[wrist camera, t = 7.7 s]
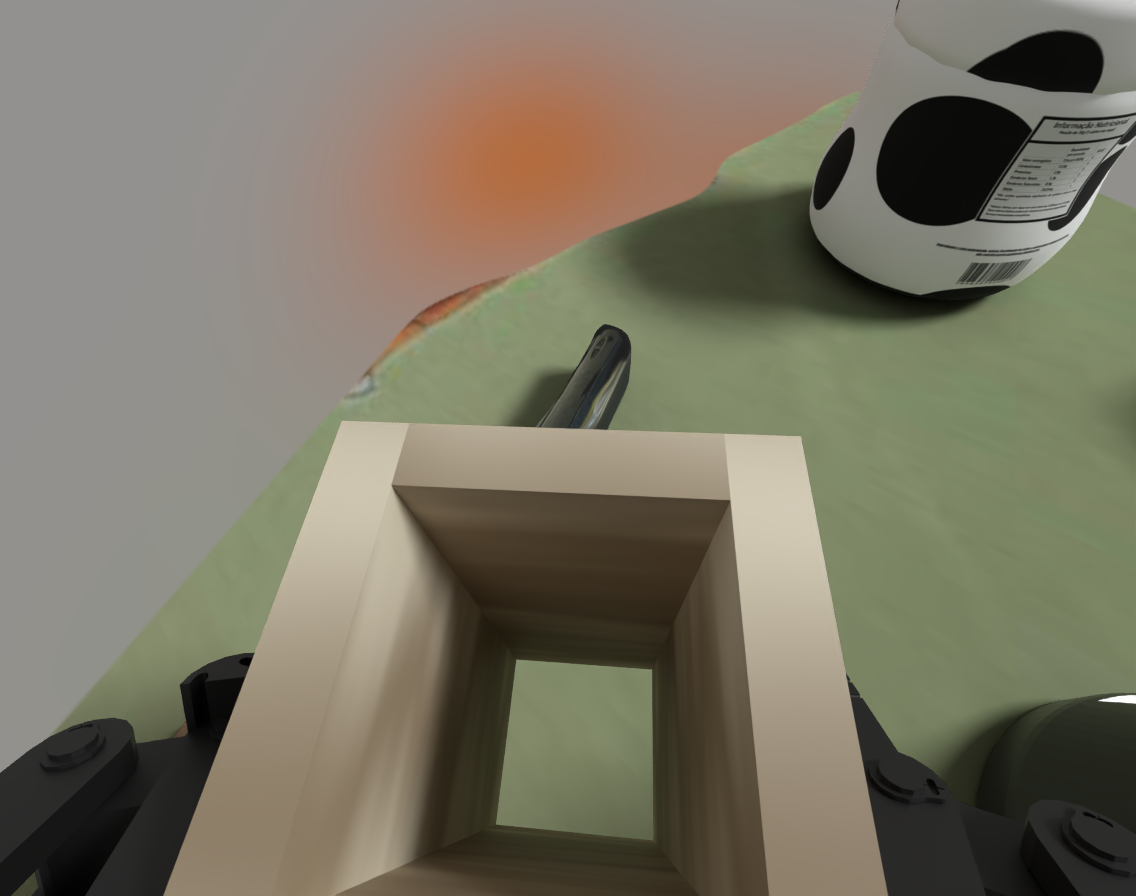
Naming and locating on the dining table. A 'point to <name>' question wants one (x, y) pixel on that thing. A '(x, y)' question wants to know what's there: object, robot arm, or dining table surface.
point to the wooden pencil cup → (552, 634)
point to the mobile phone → (594, 384)
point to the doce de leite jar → (977, 142)
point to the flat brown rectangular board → (182, 731)
